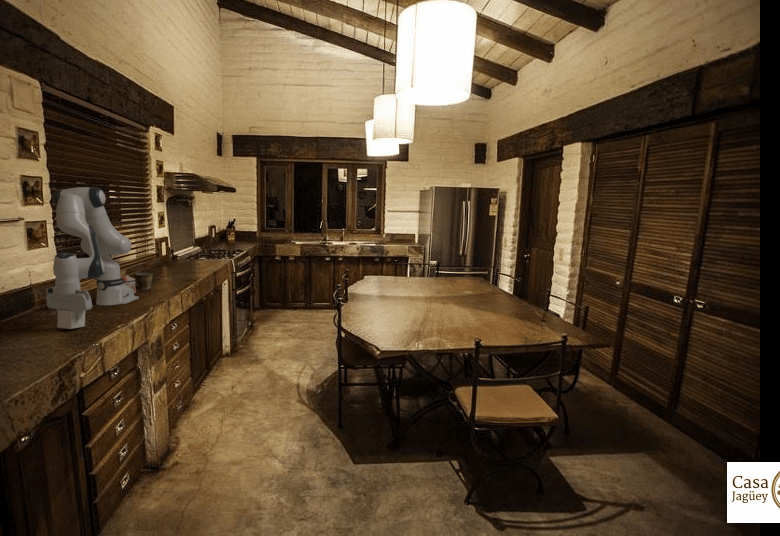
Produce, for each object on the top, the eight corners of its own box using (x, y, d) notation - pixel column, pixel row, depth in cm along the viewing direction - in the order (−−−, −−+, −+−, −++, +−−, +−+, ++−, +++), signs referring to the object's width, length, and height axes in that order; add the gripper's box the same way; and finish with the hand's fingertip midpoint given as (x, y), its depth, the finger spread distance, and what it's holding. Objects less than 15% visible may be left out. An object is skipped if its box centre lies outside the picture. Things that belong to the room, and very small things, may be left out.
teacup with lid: (133, 294, 257) (131, 276, 255) (117, 295, 255) (115, 276, 254) (140, 290, 269) (139, 273, 267) (124, 291, 267) (123, 273, 265)
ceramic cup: (157, 287, 280) (156, 273, 278) (144, 290, 270) (143, 275, 269) (142, 286, 284) (141, 271, 282) (129, 288, 274) (128, 274, 273)
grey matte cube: (71, 325, 192) (72, 308, 191) (84, 326, 190) (85, 309, 190) (57, 327, 185) (57, 310, 184) (71, 328, 184) (71, 311, 183)
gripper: (94, 288, 187) (97, 318, 189) (55, 286, 190) (58, 315, 192) (82, 291, 181) (85, 322, 183) (42, 289, 184) (45, 319, 186)
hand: (71, 318), depth 187 cm, fingers closed on grey matte cube, 7 cm apart
